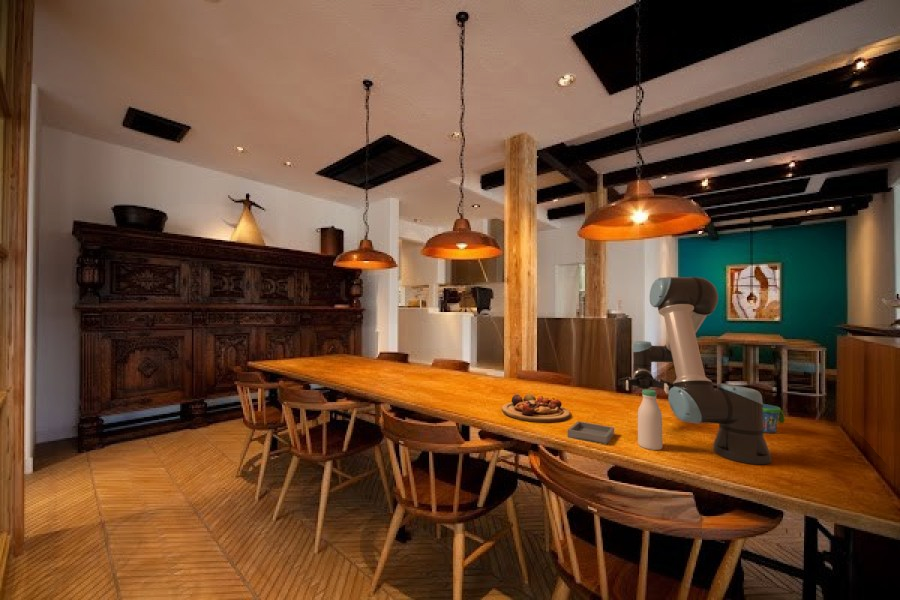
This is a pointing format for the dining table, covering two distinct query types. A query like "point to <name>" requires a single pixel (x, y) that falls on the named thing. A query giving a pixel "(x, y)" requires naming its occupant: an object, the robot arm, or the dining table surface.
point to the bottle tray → (591, 432)
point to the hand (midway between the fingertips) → (646, 388)
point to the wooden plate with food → (535, 409)
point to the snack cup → (771, 418)
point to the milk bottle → (650, 422)
